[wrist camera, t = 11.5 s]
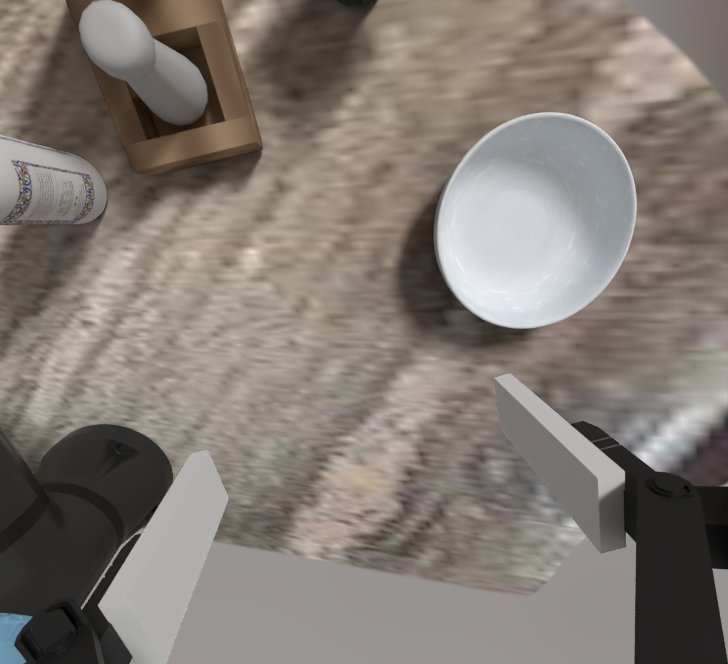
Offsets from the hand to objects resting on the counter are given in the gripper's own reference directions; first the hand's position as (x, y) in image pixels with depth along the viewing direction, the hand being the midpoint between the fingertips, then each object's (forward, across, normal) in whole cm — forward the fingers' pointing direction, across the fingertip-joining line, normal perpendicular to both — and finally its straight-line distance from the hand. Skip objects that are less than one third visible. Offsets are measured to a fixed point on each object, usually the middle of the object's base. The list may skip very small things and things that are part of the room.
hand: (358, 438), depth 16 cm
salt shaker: (+28, -10, +24) cm, 38 cm away
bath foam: (+29, -24, +19) cm, 42 cm away
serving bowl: (+29, +21, +4) cm, 36 cm away
